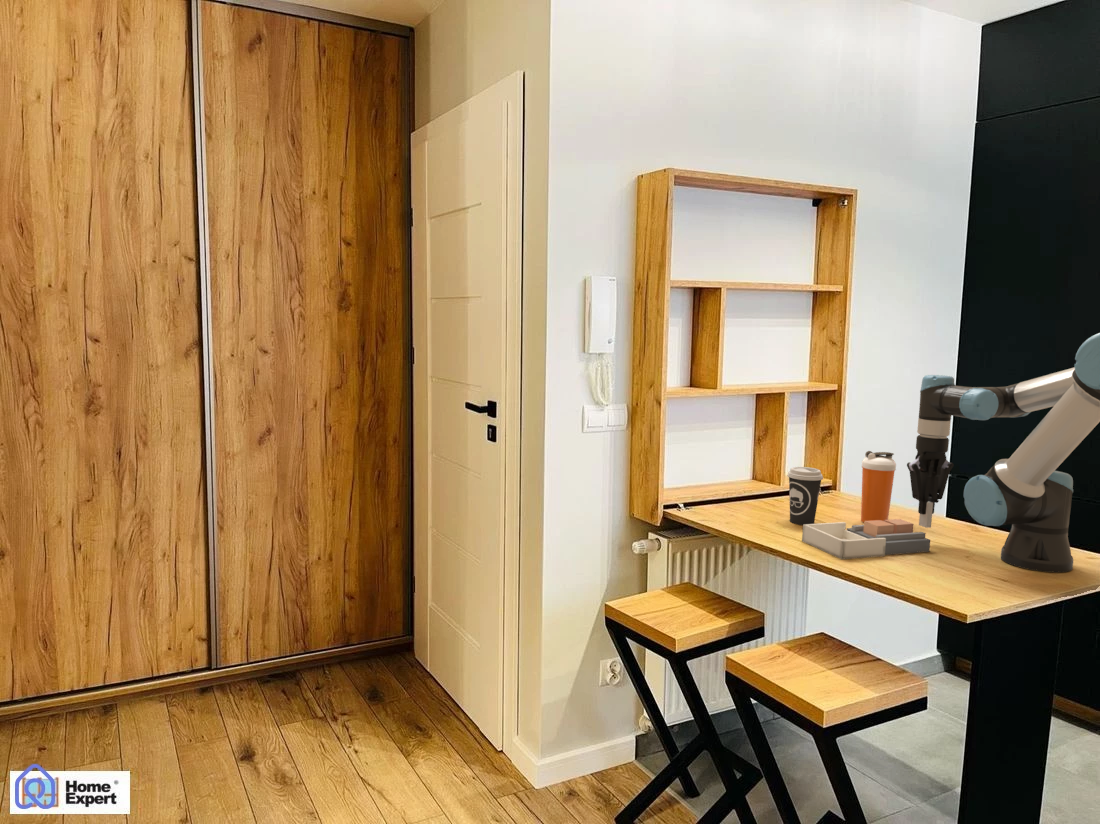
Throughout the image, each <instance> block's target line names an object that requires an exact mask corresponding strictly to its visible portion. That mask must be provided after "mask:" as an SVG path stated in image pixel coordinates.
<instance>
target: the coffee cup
mask: <svg viewBox="0 0 1100 824" xmlns="http://www.w3.org/2000/svg"><path fill="white" fill-rule="evenodd" d="M787 477H788V486H789V487H788V489H789V497H788V498H789V522H790V523H792V524H793V525H797V526H803V524H815V519H816V513H817V507H818V502H819V496H820V490H821V485H822V480H824V476H823V474H822V472H821V470H820V469H818V468H815V467H809V466H807V467H806V466H792V467H791V468H790V470H789V471H788V473H787Z"/></svg>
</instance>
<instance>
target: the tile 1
mask: <svg viewBox="0 0 1100 824" xmlns="http://www.w3.org/2000/svg"><path fill="white" fill-rule="evenodd" d="M863 525H864V530H863V533H866V534H868V535H871V536H873V537H876V535H884V534H893V531H894V525H893V524H890V523H887V522H884V521H882V520H873V521H864V523H863Z"/></svg>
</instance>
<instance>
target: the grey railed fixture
mask: <svg viewBox="0 0 1100 824" xmlns="http://www.w3.org/2000/svg"><path fill="white" fill-rule="evenodd" d="M846 530H848V531H850V532H853V533H855V534H857V535H860V536H862V537H865V538H867V539H872V538H886V545H885V556H887V555H889V556H890V555H899V554H901V555H902V554H915V553H927V552H928V553H930V548H931V539H929V538H926V534H927V533H926V532H924V531H919V532H918V531H916V532H913V533H899V534H884V535H876V537H873V536H871V535H868V534H866V533H863V530H864V524H855V525H854V524H853V525H851V527H846Z"/></svg>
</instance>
